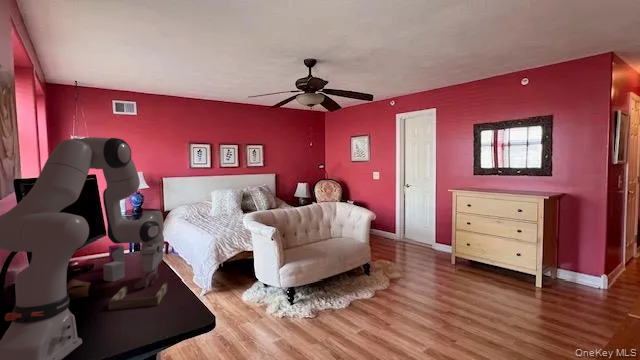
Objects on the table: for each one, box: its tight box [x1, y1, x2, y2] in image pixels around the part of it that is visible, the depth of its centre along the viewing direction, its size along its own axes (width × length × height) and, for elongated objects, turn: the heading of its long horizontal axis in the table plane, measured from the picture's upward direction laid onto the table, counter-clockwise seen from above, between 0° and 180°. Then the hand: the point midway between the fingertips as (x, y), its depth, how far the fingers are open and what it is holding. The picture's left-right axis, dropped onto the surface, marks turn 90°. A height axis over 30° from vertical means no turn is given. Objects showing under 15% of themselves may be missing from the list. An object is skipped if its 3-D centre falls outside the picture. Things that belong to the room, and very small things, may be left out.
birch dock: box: [107, 282, 168, 311], centre depth 129 cm, size 16×16×3 cm
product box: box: [102, 261, 125, 282], centre depth 152 cm, size 6×6×7 cm
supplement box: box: [108, 243, 126, 269], centre depth 168 cm, size 6×6×12 cm
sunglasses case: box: [66, 278, 92, 301], centre depth 137 cm, size 18×7×7 cm
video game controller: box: [133, 272, 160, 290], centre depth 143 cm, size 10×5×7 cm, turn 169°
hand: (154, 275), depth 149 cm, fingers closed
